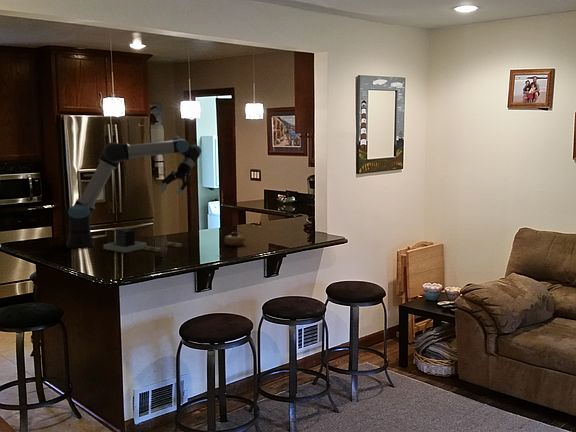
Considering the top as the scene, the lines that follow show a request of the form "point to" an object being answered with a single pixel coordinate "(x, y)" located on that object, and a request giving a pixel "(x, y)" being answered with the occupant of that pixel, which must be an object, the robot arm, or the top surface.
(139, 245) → the tray
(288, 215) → the top surface
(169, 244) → the oak cradle
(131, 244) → the small box
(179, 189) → the robot arm
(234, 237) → the pumpkin
